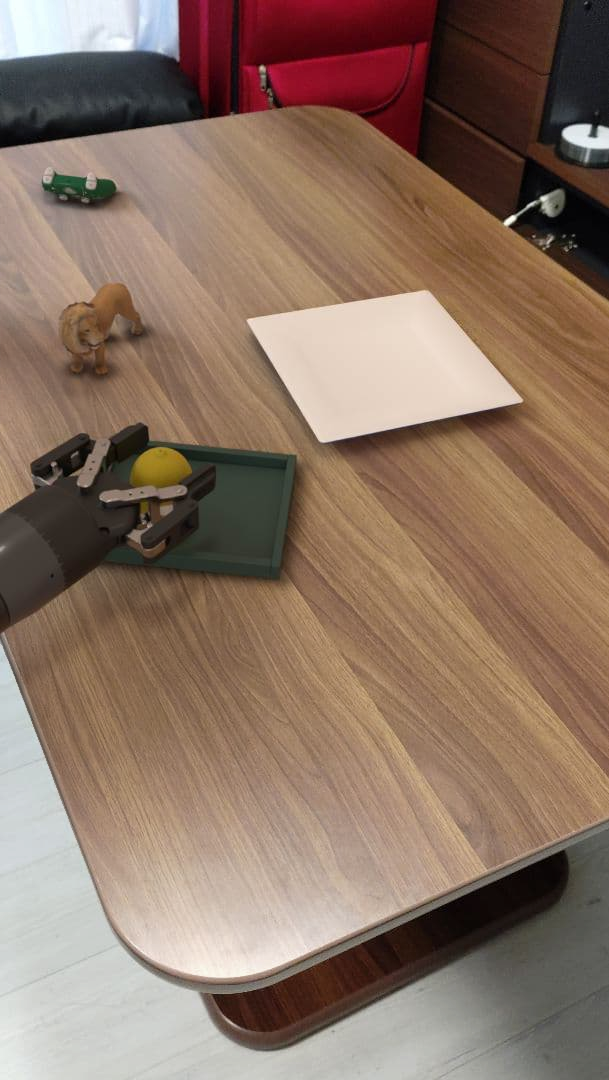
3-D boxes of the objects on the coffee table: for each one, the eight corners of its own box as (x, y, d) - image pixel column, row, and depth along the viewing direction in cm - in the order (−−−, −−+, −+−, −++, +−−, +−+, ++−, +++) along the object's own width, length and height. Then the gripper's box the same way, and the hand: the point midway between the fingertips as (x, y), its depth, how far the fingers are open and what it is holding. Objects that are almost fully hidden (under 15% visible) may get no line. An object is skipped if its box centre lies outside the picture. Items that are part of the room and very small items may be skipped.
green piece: (47, 203, 131) (32, 187, 125) (51, 175, 131) (36, 158, 125) (114, 212, 130) (101, 196, 124) (118, 184, 130) (106, 167, 124)
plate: (245, 333, 108) (245, 317, 107) (425, 303, 115) (428, 287, 113) (319, 458, 94) (320, 441, 92) (520, 415, 100) (525, 399, 99)
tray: (73, 558, 83) (71, 545, 82) (113, 449, 93) (111, 436, 92) (279, 579, 82) (280, 566, 81) (296, 467, 93) (296, 454, 92)
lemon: (153, 551, 83) (147, 481, 78) (121, 513, 86) (113, 444, 81) (208, 526, 86) (206, 457, 80) (175, 491, 89) (171, 421, 83)
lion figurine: (104, 398, 99) (96, 322, 92) (54, 390, 99) (42, 313, 93) (149, 321, 109) (144, 247, 102) (104, 314, 109) (96, 240, 103)
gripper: (87, 568, 68) (243, 453, 77) (-45, 476, 73) (115, 381, 83) (98, 636, 73) (242, 521, 82) (-26, 546, 79) (122, 448, 88)
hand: (178, 451), depth 83 cm, fingers open, 7 cm apart
